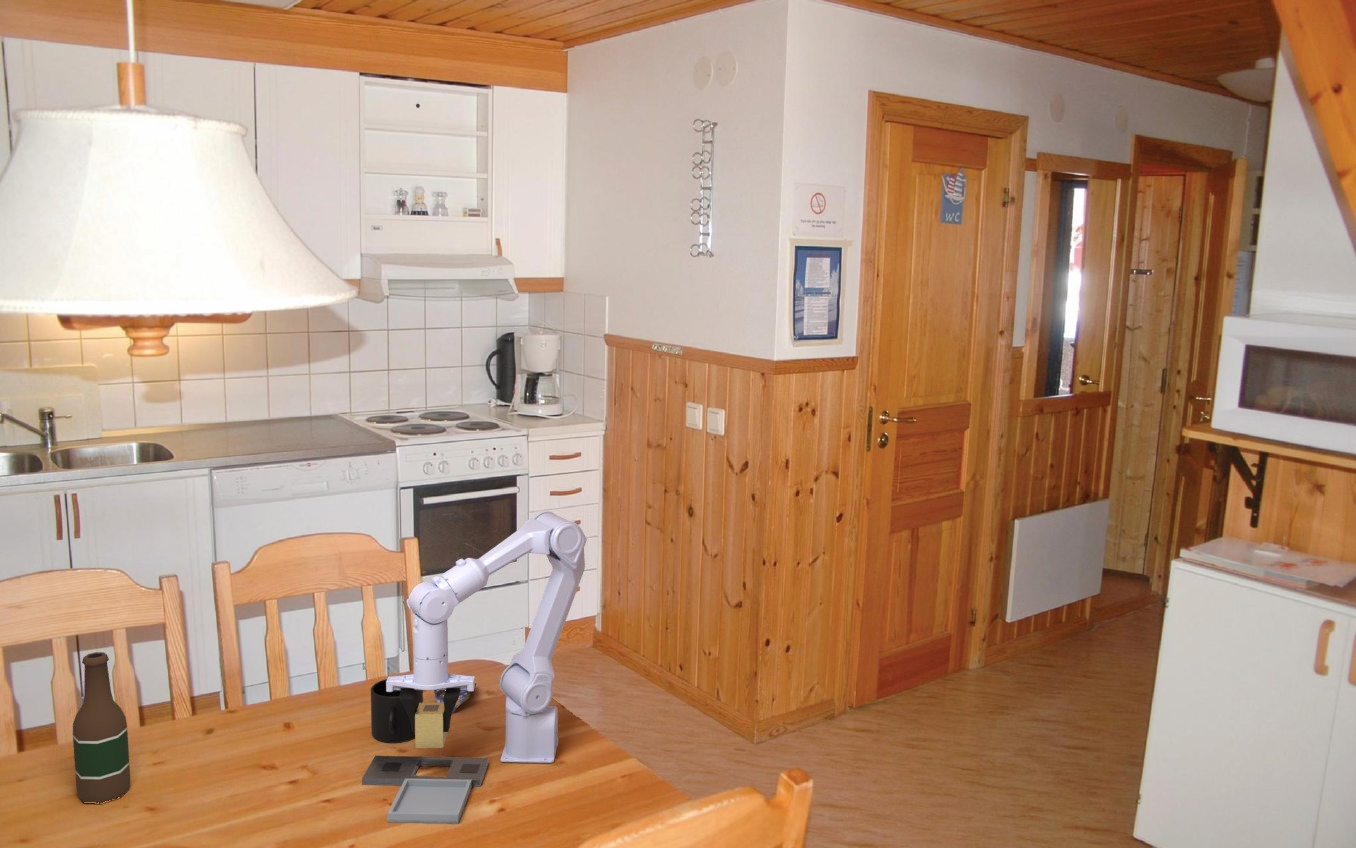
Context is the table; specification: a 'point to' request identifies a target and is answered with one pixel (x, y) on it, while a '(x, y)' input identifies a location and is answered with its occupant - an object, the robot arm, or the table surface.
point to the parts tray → (430, 801)
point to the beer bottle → (100, 737)
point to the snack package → (463, 697)
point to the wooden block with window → (430, 726)
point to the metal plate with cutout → (402, 767)
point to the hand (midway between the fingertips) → (431, 729)
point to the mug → (390, 715)
